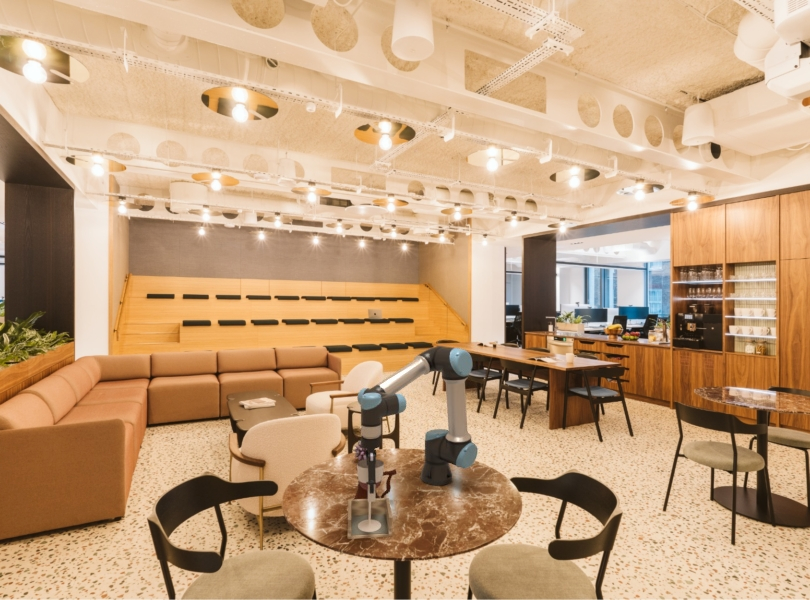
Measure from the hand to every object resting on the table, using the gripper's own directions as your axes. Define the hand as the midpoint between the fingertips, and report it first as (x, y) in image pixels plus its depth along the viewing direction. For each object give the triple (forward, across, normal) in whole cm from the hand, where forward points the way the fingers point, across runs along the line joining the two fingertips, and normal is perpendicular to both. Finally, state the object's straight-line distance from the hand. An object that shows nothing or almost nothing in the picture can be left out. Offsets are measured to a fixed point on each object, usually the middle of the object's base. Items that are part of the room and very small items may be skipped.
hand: (370, 492), depth 153 cm
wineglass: (+12, 0, 0) cm, 12 cm away
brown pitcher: (+14, -18, +2) cm, 23 cm away
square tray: (+13, -1, 0) cm, 13 cm away
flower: (+14, -64, 0) cm, 66 cm away
